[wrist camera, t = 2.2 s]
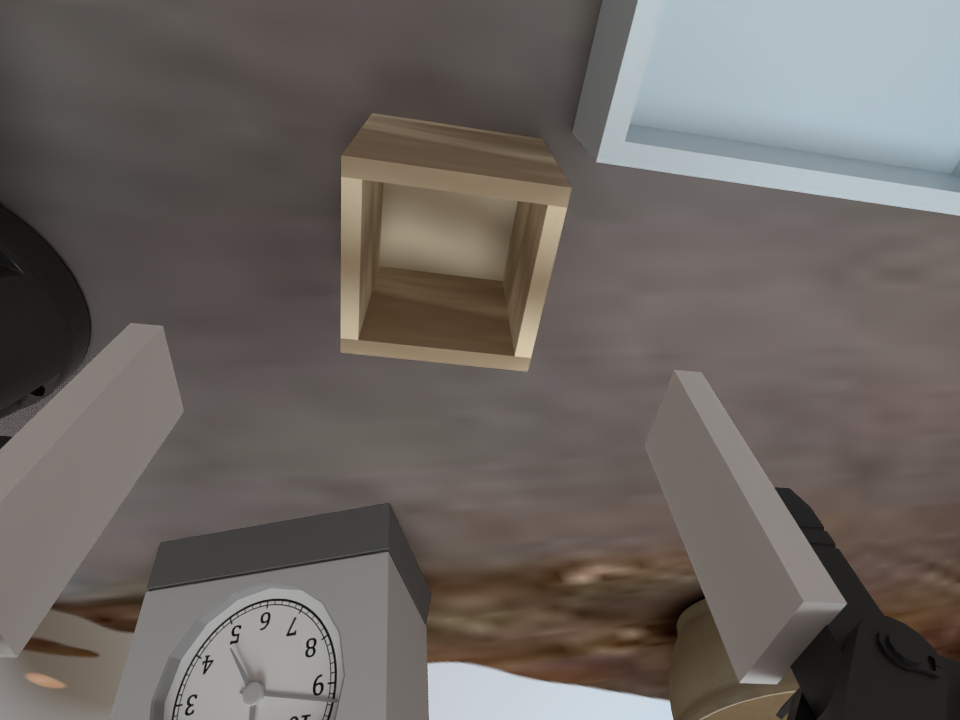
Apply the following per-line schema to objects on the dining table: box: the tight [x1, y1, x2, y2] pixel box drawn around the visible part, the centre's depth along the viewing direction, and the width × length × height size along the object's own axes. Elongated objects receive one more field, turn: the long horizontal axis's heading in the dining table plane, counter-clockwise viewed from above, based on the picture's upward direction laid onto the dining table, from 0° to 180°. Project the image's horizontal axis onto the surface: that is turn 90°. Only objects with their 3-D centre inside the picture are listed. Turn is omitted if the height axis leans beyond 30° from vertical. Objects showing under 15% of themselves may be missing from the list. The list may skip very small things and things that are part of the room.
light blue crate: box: [572, 0, 960, 216], centre depth 23 cm, size 14×22×6 cm, turn 82°
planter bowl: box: [669, 598, 800, 720], centre depth 51 cm, size 16×16×11 cm
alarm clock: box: [109, 503, 431, 720], centre depth 41 cm, size 20×16×20 cm
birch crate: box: [341, 113, 572, 372], centre depth 27 cm, size 9×9×9 cm
